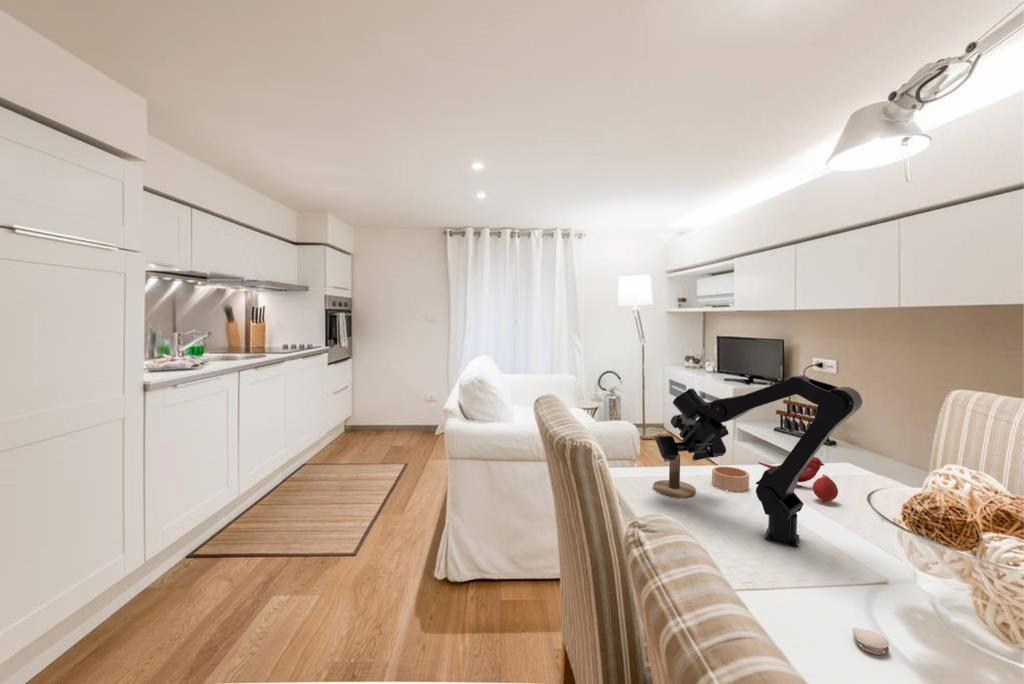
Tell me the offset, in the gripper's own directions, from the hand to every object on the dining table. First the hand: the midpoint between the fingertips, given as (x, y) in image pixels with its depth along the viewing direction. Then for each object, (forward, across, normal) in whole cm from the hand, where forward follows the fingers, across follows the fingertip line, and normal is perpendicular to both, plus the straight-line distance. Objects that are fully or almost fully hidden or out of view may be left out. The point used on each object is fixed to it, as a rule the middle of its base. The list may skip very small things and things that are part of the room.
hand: (679, 459), depth 132 cm
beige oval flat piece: (-37, +4, +51) cm, 63 cm away
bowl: (+9, -19, +5) cm, 22 cm away
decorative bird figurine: (+7, -38, +7) cm, 39 cm away
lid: (+9, 0, +6) cm, 11 cm away
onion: (-2, -38, +16) cm, 41 cm away
